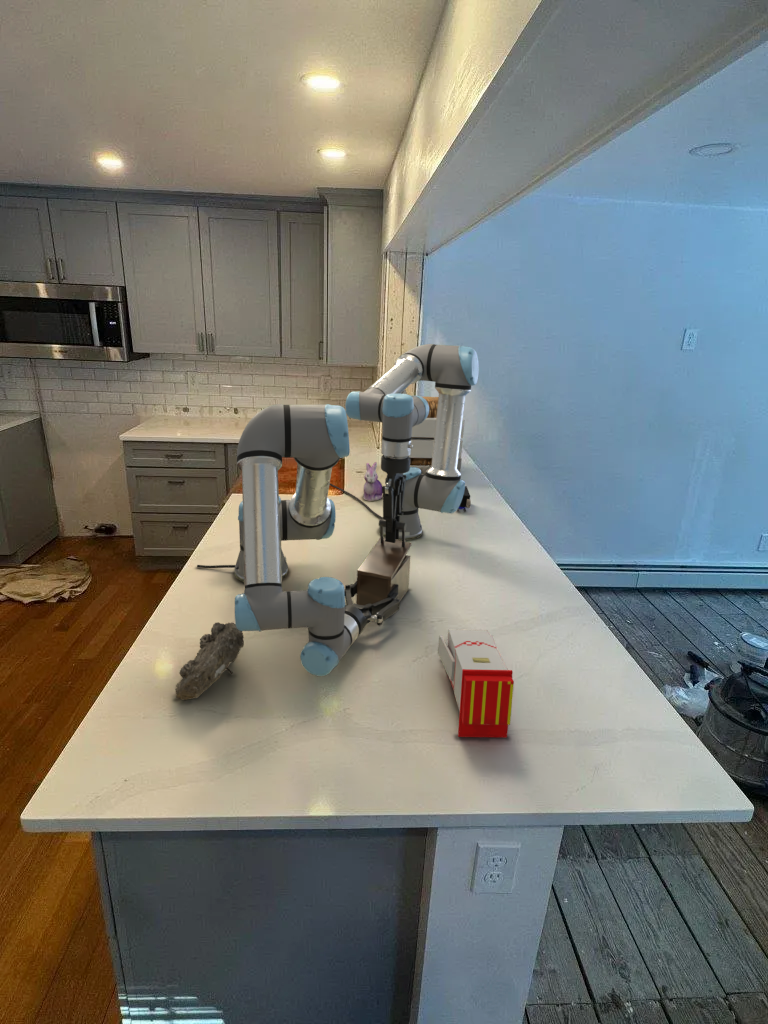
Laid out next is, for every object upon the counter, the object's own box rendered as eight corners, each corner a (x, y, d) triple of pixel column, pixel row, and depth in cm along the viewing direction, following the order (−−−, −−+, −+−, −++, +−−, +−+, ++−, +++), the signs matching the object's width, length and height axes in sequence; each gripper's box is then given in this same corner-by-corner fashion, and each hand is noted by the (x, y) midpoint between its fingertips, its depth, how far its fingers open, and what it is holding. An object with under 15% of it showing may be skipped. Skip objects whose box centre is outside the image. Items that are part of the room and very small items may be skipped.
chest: (377, 583, 163) (379, 550, 160) (408, 589, 161) (410, 555, 157) (355, 609, 149) (356, 573, 145) (389, 617, 146) (391, 580, 142)
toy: (488, 613, 130) (523, 677, 101) (484, 667, 133) (517, 744, 104) (435, 612, 130) (455, 676, 101) (432, 666, 133) (451, 743, 103)
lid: (380, 540, 159) (379, 514, 155) (411, 545, 156) (411, 519, 152) (357, 573, 145) (355, 545, 141) (391, 580, 142) (390, 552, 138)
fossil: (197, 625, 130) (244, 594, 125) (226, 653, 133) (272, 624, 128) (153, 694, 111) (206, 661, 106) (188, 725, 114) (241, 695, 109)
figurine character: (470, 516, 223) (465, 500, 237) (473, 499, 220) (467, 484, 233) (453, 516, 223) (449, 500, 236) (455, 498, 220) (451, 483, 233)
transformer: (382, 463, 289) (386, 382, 275) (445, 464, 293) (451, 384, 279) (390, 482, 257) (394, 392, 243) (460, 483, 261) (468, 394, 247)
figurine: (367, 502, 230) (368, 467, 225) (357, 495, 238) (358, 460, 233) (388, 500, 234) (389, 465, 229) (377, 492, 242) (378, 458, 237)
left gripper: (301, 630, 134) (340, 589, 153) (389, 651, 127) (418, 606, 147) (301, 602, 131) (340, 564, 151) (391, 622, 124) (419, 580, 144)
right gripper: (400, 464, 138) (396, 552, 146) (418, 450, 151) (413, 532, 159) (371, 460, 140) (369, 547, 148) (391, 447, 153) (388, 528, 161)
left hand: (378, 585), depth 149 cm, fingers closed on chest, 9 cm apart
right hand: (392, 539), depth 154 cm, fingers closed on lid, 2 cm apart
